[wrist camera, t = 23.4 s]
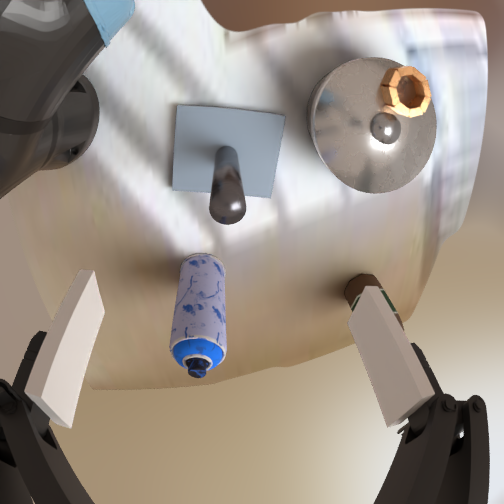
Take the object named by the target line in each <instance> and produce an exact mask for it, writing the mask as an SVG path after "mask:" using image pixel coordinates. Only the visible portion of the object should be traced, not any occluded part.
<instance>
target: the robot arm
mask: <svg viewBox="0 0 504 504" xmlns="http://www.w3.org/2000/svg"><path fill="white" fill-rule="evenodd" d="M134 9H135V2H134V0H0V199H1V198H2V197H3V196H4V195H6V194H7V193H8V192H10V191H11V190H12V189H13V188H15V187H16V186H17V185H19V184H20V183H21V182H23V181H24V180H26V179H27V178H28V177H30V176H31V175H33V174H34V173H35V172H37V171H39V170H52V169H58V168H62V167H64V166H67V165H68V164H70V163H72V162H73V161H75V160H76V159H78V158H79V157H80V156H81V155H82V154H83V153H84V152H85V151H86V150H87V149H88V147H89V146H90V144H91V143H92V141H93V139H94V136H95V134H96V131H97V127H98V122H99V102H98V98H97V94H96V92H95V89H94V87H93V86H92V84H91V83H90V81H89V80H88V79H87V78H86V77H85V76H84V75H82V74H83V73H84V71H85V70H86V69H87V68H88V66H89V65H90V64H91V63H92V61H93V60H94V59H95V58H96V57H97V55H98V54H99V53H100V52H101V51H102V50H103V48H104V47H106V48H107V47H108V46H109V44H110V40H111V39H112V38H113V37H114V36H115V34H116V33H117V32H118V31H119V30H120V29H121V28H122V27H123V26H124V25H125V24H126V22H127V21H128V20H129V19H130V18H131V16H132V15H133V13H134ZM104 314H105V311H104V307H103V304H102V300H101V296H100V293H99V289H98V285H97V281H96V277H95V273H94V270H84V269H80V270H79V272H78V274H77V276H76V277H75V279H74V281H73V283H72V285H71V286H70V288H69V290H68V292H67V294H66V296H65V298H64V300H63V301H62V303H61V305H60V307H59V309H58V311H57V313H56V315H55V317H54V320H53V322H52V324H51V326H50V328H49V330H48V332H43V331H39V332H38V333H37V334H36V335H35V336H34V337H33V338H32V339H31V341H30V344H29V346H28V348H27V351H26V353H25V355H24V359H23V360H22V362H21V364H20V367H19V369H18V372H17V374H16V377H15V380H14V382H13V385H12V387H11V386H10V384H9V383H8V382H6V381H5V380H3V379H0V504H33V501H32V498H33V500H34V502H35V504H94V502H93V501H92V499H91V498H90V497H89V495H88V493H87V492H86V490H85V489H84V487H83V486H82V485H81V483H80V481H79V480H78V478H77V476H76V475H75V473H74V471H73V470H72V468H71V466H70V464H69V463H68V461H67V459H66V457H65V455H64V453H63V451H62V450H61V448H60V446H59V444H58V442H57V440H56V438H55V436H54V434H53V431H52V429H51V427H50V426H49V420H50V419H51V420H52V421H53V422H54V423H56V424H58V425H61V426H64V427H68V428H72V423H73V418H74V414H75V410H76V405H77V401H78V397H79V393H80V389H81V385H82V382H83V378H84V375H85V371H86V368H87V365H88V361H89V358H90V355H91V352H92V348H93V345H94V342H95V339H96V336H97V333H98V331H99V328H100V325H101V322H102V319H103V316H104ZM347 324H348V326H349V328H350V331H351V333H352V336H353V338H354V340H355V343H356V345H357V348H358V350H359V353H360V355H361V358H362V360H363V363H364V365H365V368H366V370H367V373H368V376H369V378H370V381H371V383H372V386H373V389H374V392H375V394H376V397H377V400H378V402H379V405H380V408H381V411H382V414H383V416H384V419H385V422H386V425H387V427H391V426H394V425H397V424H400V423H402V422H403V421H404V420H405V419H406V418H408V420H409V422H408V423H407V424H406V425H405V426H403V427H402V428H401V429H399V430H398V432H397V433H398V434H399V433H401V432H402V431H403V430H404V433H403V434H402V439H401V442H400V444H399V447H398V450H397V453H396V455H395V457H394V460H393V462H392V465H391V467H390V470H389V472H388V474H387V477H386V479H385V481H384V483H383V486H382V488H381V490H380V492H379V494H378V496H377V498H376V500H375V502H374V504H487V503H488V492H489V469H490V465H489V464H490V463H489V462H490V456H489V433H488V420H487V411H486V405H485V402H484V400H483V399H482V398H481V397H480V396H478V395H473V396H472V397H470V398H469V399H468V400H467V401H456V400H455V399H454V397H452V396H451V395H449V394H444V393H443V392H442V390H441V388H440V386H439V384H438V382H437V380H436V377H435V375H434V373H433V372H432V369H431V368H430V367H429V364H428V362H427V361H426V358H425V356H424V354H423V352H422V350H421V349H420V348H419V347H418V346H417V345H416V344H415V343H410V342H409V340H408V338H407V337H406V335H405V333H404V331H403V329H402V327H401V325H400V324H399V322H398V320H397V318H396V317H395V315H394V313H393V311H392V310H391V308H390V306H389V304H388V303H387V301H386V299H385V298H384V296H383V294H382V293H381V291H380V289H379V288H378V286H365V288H364V290H363V293H362V295H361V297H360V299H359V301H358V303H357V305H356V307H355V309H354V311H353V313H352V315H351V317H350V319H349V321H348V322H347ZM463 431H464V436H463V437H462V438H460V433H461V432H463ZM31 497H32V498H31Z"/></svg>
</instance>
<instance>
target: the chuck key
mask: <svg viewBox="0 0 504 504" xmlns="http://www.w3.org/2000/svg"><path fill="white" fill-rule="evenodd" d="M209 211H210V214H211V216H212V218H213V219H214V220H215V221H217V222H219V223H221V224H226V225H230V224H234V223H236V222H238V221H240V220H241V219H242V218H243V216H244V215H245V212H246V203H245V196H244V190H243V184H242V178H241V172H240V166H239V159H238V154H237V151H236V150H235V149H234V148H233V147H230V146H223V147H221V148H219V149H218V150H217V152H216V155H215V162H214V171H213V179H212V188H211V197H210V206H209Z"/></svg>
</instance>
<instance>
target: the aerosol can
mask: <svg viewBox="0 0 504 504" xmlns="http://www.w3.org/2000/svg"><path fill="white" fill-rule="evenodd" d="M225 276H226V274H225V267H224V265H223V263H222V262H221V261H220V260H219V259H218V258H217V257H215V256H213V255H210V254H205V253H198V254H194V255H191V256H189V257H188V258H186V259H185V260H184V261H183V263H182V264H181V268H180V279H179V285H178V291H177V297H176V304H175V310H174V317H173V324H172V331H171V338H170V346H169V347H170V352H171V355H172V357H173V358H174V359H175V360H176V361H177V362H178V363H179V364H180V365H181V366H182V367H184V368H186V369H188V374H189V375H190V376H192V377H195V378H202V377H204V376H205V375H206V370H210V369H213V368H215V367H216V366H217V365H218V364H220V363H221V362H222V361H223V360H224V358H225V356H226V351H227V345H226V316H225Z"/></svg>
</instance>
